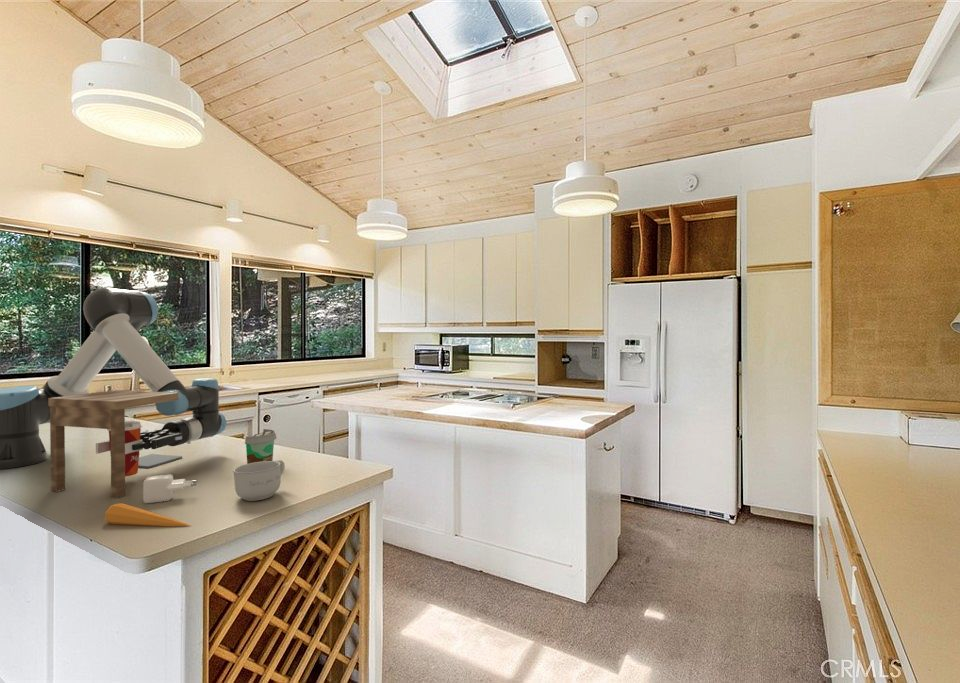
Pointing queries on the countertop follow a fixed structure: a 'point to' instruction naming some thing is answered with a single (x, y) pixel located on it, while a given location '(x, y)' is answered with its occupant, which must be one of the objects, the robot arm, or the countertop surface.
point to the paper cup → (130, 435)
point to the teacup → (258, 479)
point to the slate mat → (156, 460)
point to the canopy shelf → (101, 414)
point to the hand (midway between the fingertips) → (107, 449)
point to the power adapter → (163, 487)
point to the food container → (260, 446)
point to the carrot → (137, 517)
